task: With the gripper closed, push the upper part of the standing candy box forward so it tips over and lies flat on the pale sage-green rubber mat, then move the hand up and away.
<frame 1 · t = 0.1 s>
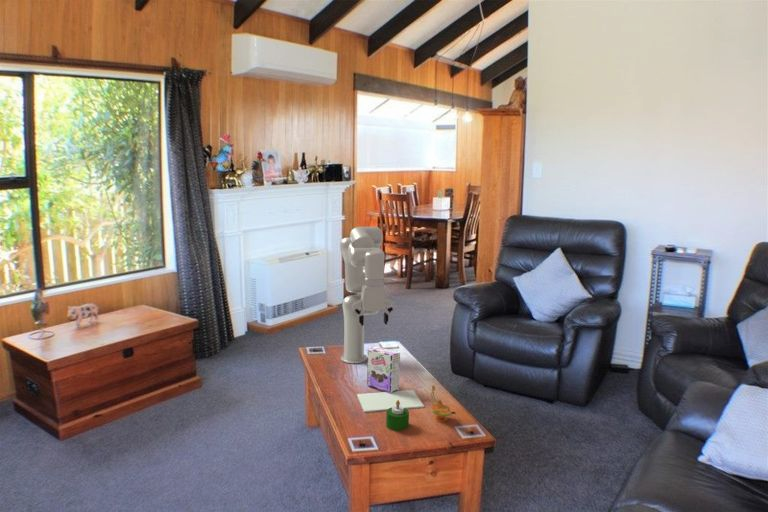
hand: (373, 324, 234), 31 cm above the table, tool pointing down, fingers open, 9 cm apart
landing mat: (389, 401, 236), on the table
candy box: (382, 388, 248), on the table, touching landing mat
magic lamp: (442, 421, 220), on the table
candle: (397, 426, 215), on the table
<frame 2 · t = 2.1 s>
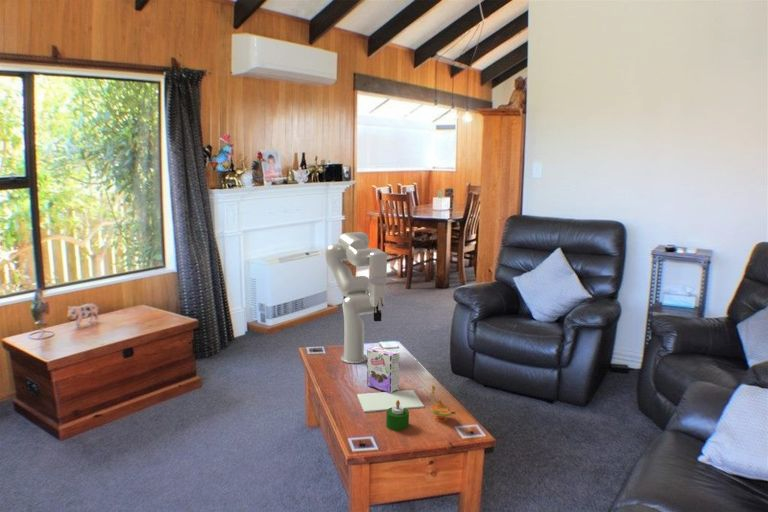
hand: (377, 320, 256), 26 cm above the table, tool pointing down, fingers closed
nothing on the table moved.
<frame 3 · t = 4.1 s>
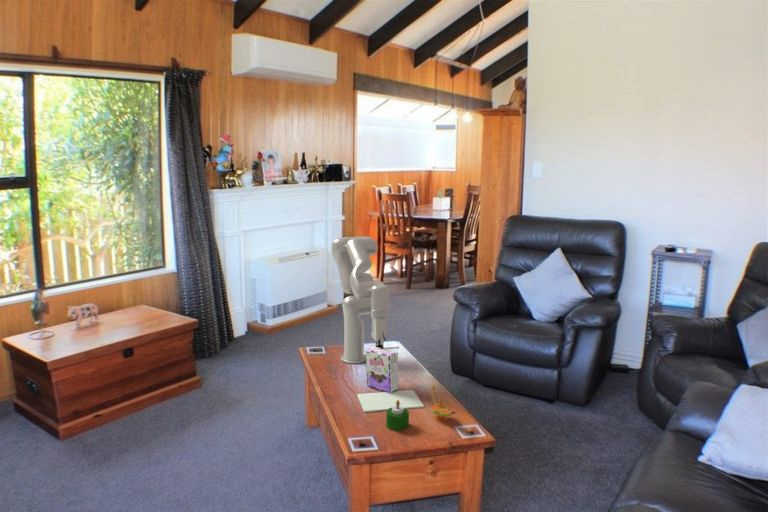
hand: (379, 354, 254), 12 cm above the table, tool pointing down, fingers closed
candy box: (382, 388, 248), on the table, touching gripper, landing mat
everything else where it was.
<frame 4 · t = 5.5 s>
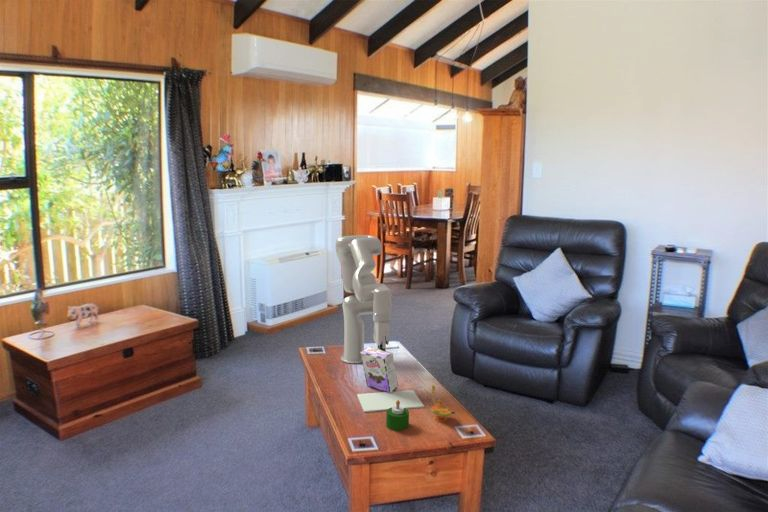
hand: (381, 358, 250), 12 cm above the table, tool pointing down, fingers closed
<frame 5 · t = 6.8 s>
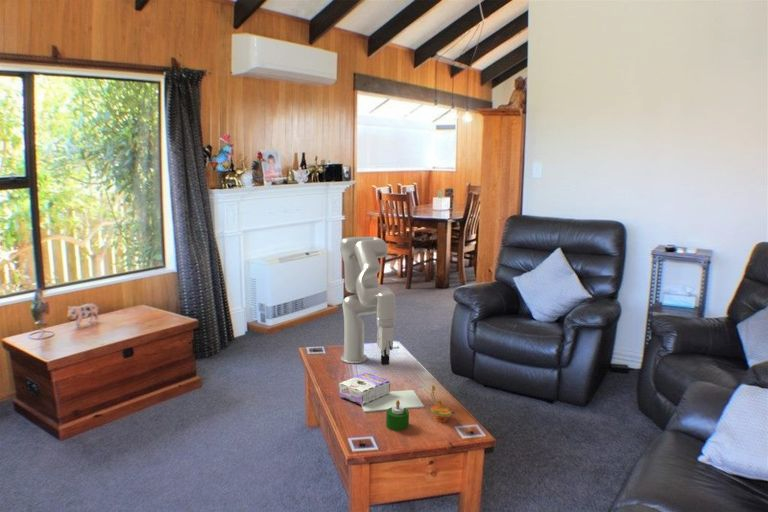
hand: (385, 364, 243), 12 cm above the table, tool pointing down, fingers closed
candy box: (378, 382, 246), point 3 cm above the table, touching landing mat
everything else where it was.
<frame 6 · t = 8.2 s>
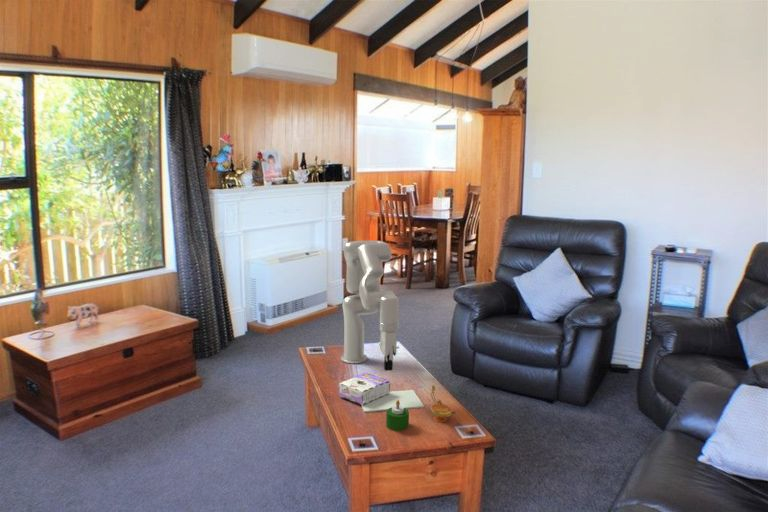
hand: (388, 369, 237), 12 cm above the table, tool pointing down, fingers closed
nothing on the table moved.
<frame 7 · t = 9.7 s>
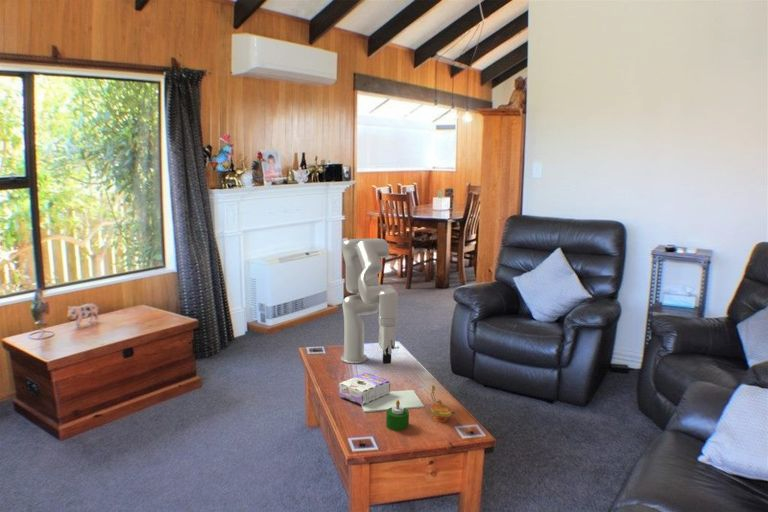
hand: (386, 363, 239), 14 cm above the table, tool pointing down, fingers closed
nothing on the table moved.
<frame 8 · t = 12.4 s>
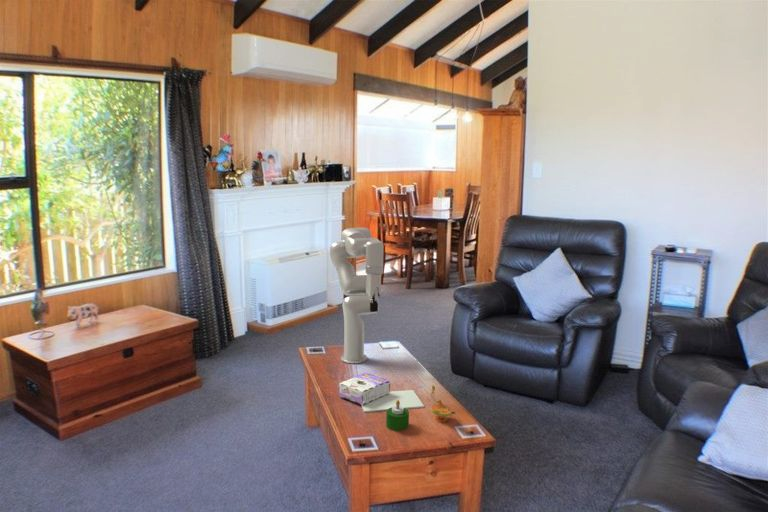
hand: (373, 311, 253), 31 cm above the table, tool pointing down, fingers closed
nothing on the table moved.
at the end: candy box tilted 89°; candy box touching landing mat; the gripper is holding nothing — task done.
